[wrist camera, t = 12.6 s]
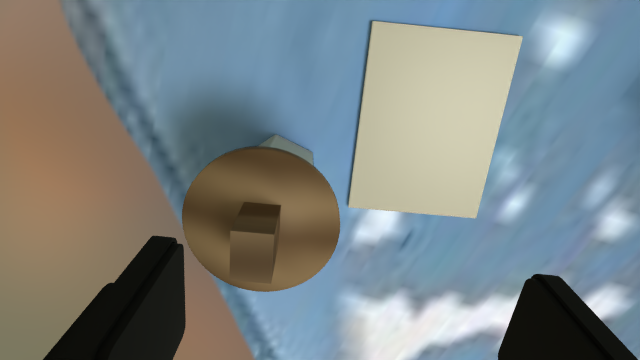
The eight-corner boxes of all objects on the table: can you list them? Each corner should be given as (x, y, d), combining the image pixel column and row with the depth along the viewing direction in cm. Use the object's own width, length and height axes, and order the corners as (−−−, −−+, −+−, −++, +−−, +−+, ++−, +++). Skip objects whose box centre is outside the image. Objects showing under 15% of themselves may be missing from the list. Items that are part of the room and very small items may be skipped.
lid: (184, 138, 30) (153, 161, 24) (348, 154, 31) (355, 180, 25) (187, 278, 35) (161, 324, 29) (330, 290, 35) (332, 338, 29)
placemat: (372, 21, 38) (372, 21, 37) (519, 36, 39) (522, 36, 38) (348, 205, 45) (348, 207, 44) (473, 215, 45) (475, 218, 45)
